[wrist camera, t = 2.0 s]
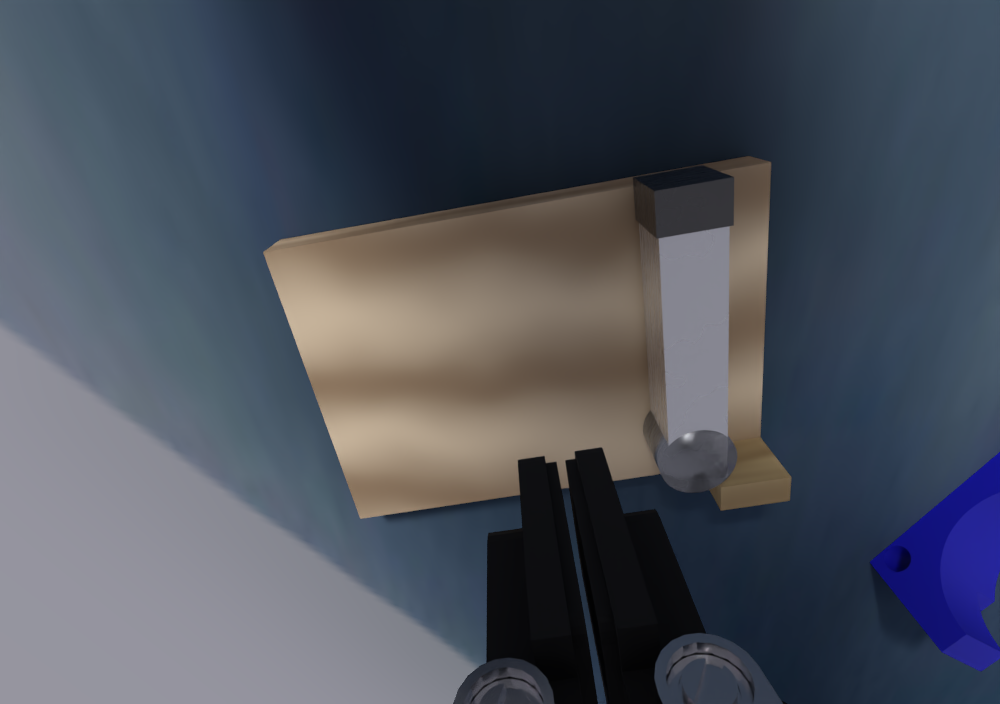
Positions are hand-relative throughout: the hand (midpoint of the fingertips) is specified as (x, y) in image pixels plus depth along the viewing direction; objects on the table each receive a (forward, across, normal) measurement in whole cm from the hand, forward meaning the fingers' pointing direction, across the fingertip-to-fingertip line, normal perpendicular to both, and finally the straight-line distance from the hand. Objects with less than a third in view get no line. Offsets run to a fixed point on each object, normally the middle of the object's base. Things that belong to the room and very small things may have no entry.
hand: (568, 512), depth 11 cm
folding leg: (+13, -6, +3) cm, 15 cm away
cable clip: (+16, -23, +18) cm, 33 cm away
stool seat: (+15, 0, +3) cm, 16 cm away
